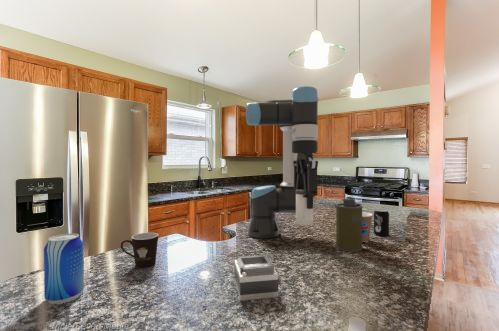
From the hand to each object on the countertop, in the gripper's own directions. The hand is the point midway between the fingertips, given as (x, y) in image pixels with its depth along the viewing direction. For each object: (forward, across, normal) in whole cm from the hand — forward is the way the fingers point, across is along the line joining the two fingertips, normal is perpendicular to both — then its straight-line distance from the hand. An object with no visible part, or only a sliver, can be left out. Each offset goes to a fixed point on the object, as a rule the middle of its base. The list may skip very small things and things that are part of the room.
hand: (304, 217), depth 80 cm
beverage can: (+19, -38, +54) cm, 69 cm away
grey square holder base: (+19, +3, -16) cm, 25 cm away
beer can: (+19, -1, -66) cm, 69 cm away
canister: (+19, -24, +29) cm, 42 cm away
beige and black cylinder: (+2, 0, 0) cm, 2 cm away
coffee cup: (+19, -32, +39) cm, 54 cm away
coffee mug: (+19, -21, -51) cm, 58 cm away
